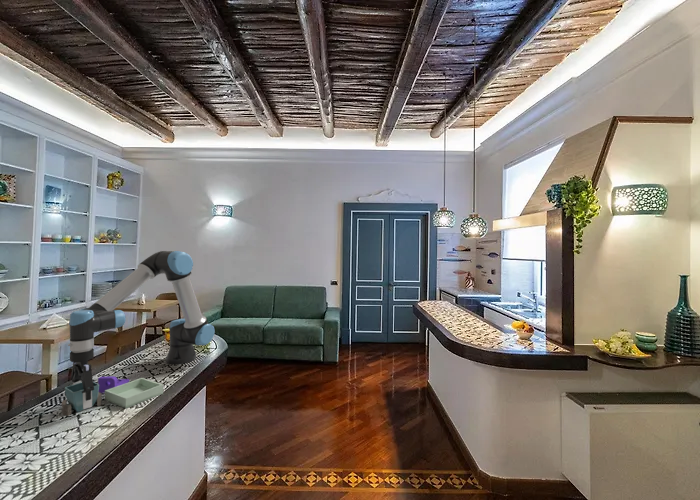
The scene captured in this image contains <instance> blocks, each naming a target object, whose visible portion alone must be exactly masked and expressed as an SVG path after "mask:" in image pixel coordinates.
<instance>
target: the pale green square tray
mask: <svg viewBox="0 0 700 500" xmlns="http://www.w3.org/2000/svg"><path fill="white" fill-rule="evenodd" d="M163 394H164V384H162V383H160V382H156V381H153V380H149V379H147V378H144V377H140V378H138V379H134V380H132V381H129V382H128V383H125V384H122V385H119V386H117V387H114V388H111V389H108V390H105V393H104V401H106V402H109V403H111V404H113V405H116V406H119V407H121V408H123V409H128V408H132V407H133V406H135V405H138V404H141V403H144V402H146V401H148V400H151V399H154V398H155V397H156V398H157V397H159V396H160V395H163Z"/></svg>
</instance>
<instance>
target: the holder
mask: <svg viewBox="0 0 700 500" xmlns="http://www.w3.org/2000/svg"><path fill="white" fill-rule="evenodd" d="M102 399H103V393H100V392H98V397H97V400H96V402H95V403H94V404H97V406H96V407H101V406H102V403H103V400H102ZM61 415H63V416H65V415H66V416H65V417H69V416H71V415H72V407H71V404H69V403H68V401H67V399H63V400H62V402H61Z"/></svg>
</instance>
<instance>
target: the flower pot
mask: <svg viewBox="0 0 700 500" xmlns="http://www.w3.org/2000/svg"><path fill="white" fill-rule="evenodd" d="M93 385H94V390H92V407H93V406H94V405H95V404H96V403H95V402H96V400H97V397H98V391H99V384H98V382H95V381H93ZM89 388H90V387H89ZM64 391H65V392H64V393H65V398H66V400H67V404H71V410H74V411H76V412H81V411H84V410H87V409H88V408H86V409H83V393H82V391H84V389H83V385H82V381H81V383H78V384H75V385H73V384H72V385H68V386H65V387H64Z"/></svg>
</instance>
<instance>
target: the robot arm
mask: <svg viewBox="0 0 700 500" xmlns="http://www.w3.org/2000/svg"><path fill="white" fill-rule="evenodd" d="M193 267H194V262H193V259H192V256H191V255H190V254H189V253H187V252H185V251H180V250H174V251H172V250H170V251H167V250H160V251H157V252H154V253H152V254H151V255H149V256H148V257H147V258H145V259H144V260H142V262H140V263H139V264H138V265H137V268H136V269H135V270H133V271H132V272H131V273H130V274H129V275H128V276H126V277H125V278H124V279H123V280H121V281H120V282H119V283H117V284H116V285H115V286H114V287H113V288H112V289H110V290H108V292H106V293H105V294H104V295H103V296H101V297H100V298H99V299H98V300H96V302H94V303H93V304H91V305H90V306H89V307H86V308H85V307H83V308H81V309H79V310H76V311H73V312H71V313H70V315H69V323H68V325H69V343H68V344H67V346H68V347H69V351H70V352H69V362H71V363H72V369H71V377H70V379H71V381H72V385H75V384H78V383H81V382H82V385H83V389H84V391H82V393H83V409H84V410H87V409H90V408H92V407H93V406H92V390H94V385H93V382H94V380H93V373H92V364H90V363H89V361H90V360H92V359H94V356H95V352H94V351H95V349H94V347H95V341H94V340H95V336H94V334H95V333H97V332H103V331H108V330H114V329H117V328H121V327H123V326H124V325H125V324H126V315H125V312H124V311H123V310H121V309H116V308H117V307H119V306H120V305H121V304H122V303H123V302H125V300H127V298H129V297H130V296H131V295H132V294H133V293H135V292H136V291H137V290H138V289H140V288H141V287H142V286H143V285H144V284H145V283H146V282H148V281H149V280H153V279H154V278H155V277H157V276H158V275H161V274H162V275H163V274H164V275H165V277H166V280H167V282H170V283H171V284H172V287H173V289H174V293H175V296H176V299H177V301H178V304H179V308H180V310H181V313H182V315H183V318H178V319H173V320H171V321H170V323H169V349H168V352H167V355H166V358H165V359H166V360H165V362H166V364H170V365H171V364H172V365H181V364H186V363H189V362H190V363H191V362H192V361H195V360H196V359H197V353H196V350H195V347H194V345H195V346H207V345H208V344H209V343H211V341H213V338H214V336H215V333H216V332H215V327H214V325H212V324H211V323H208V319H207V317H206V316H204V315H203V313H202V311H201V309H200V305H199V301H198V299H197V296H196V293H195V292H196V291H194V286H193V284H192V281H191V278H190V277H191V275H192V270H193ZM89 387H90V388H89ZM86 408H87V409H86Z"/></svg>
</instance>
